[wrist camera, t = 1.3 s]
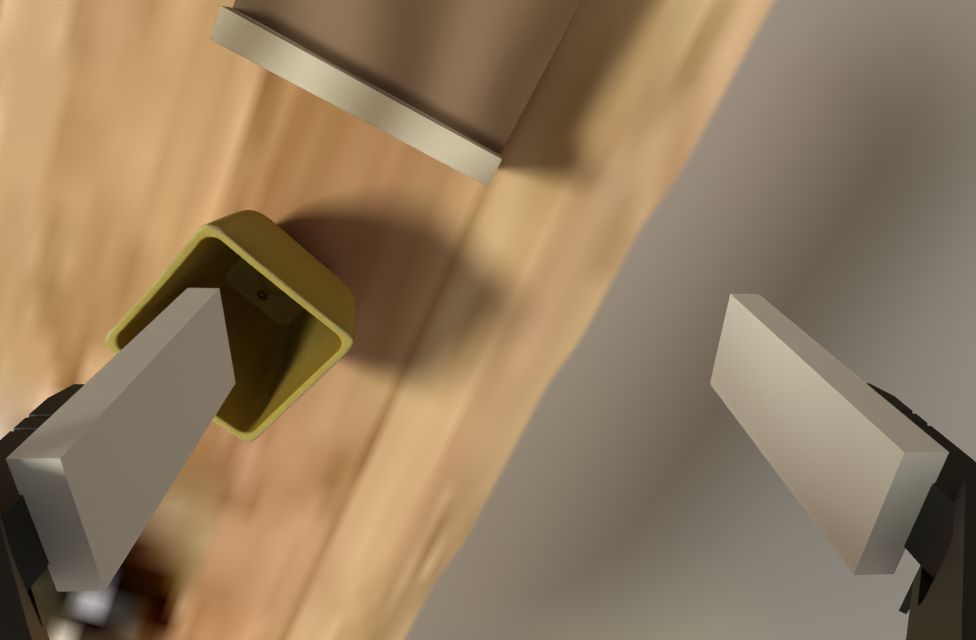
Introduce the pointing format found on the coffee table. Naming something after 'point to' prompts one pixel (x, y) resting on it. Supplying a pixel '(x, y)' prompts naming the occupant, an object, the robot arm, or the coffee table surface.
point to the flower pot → (257, 314)
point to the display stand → (410, 64)
